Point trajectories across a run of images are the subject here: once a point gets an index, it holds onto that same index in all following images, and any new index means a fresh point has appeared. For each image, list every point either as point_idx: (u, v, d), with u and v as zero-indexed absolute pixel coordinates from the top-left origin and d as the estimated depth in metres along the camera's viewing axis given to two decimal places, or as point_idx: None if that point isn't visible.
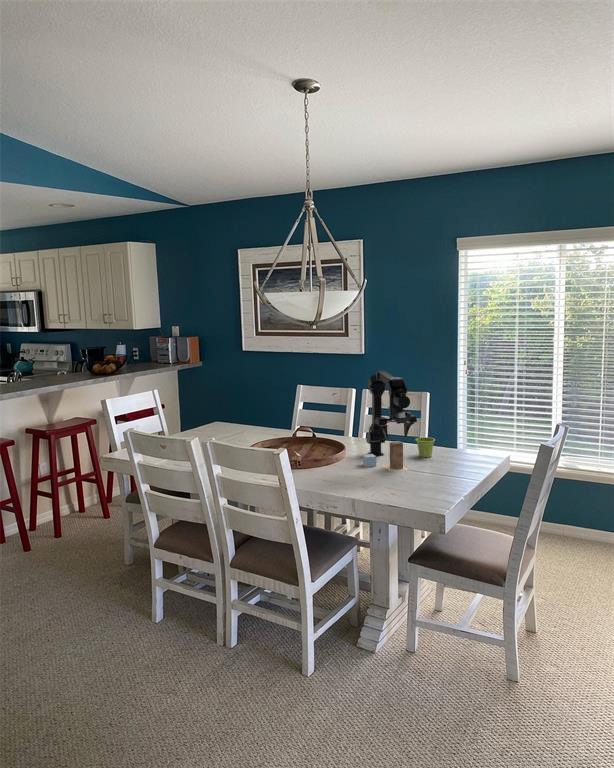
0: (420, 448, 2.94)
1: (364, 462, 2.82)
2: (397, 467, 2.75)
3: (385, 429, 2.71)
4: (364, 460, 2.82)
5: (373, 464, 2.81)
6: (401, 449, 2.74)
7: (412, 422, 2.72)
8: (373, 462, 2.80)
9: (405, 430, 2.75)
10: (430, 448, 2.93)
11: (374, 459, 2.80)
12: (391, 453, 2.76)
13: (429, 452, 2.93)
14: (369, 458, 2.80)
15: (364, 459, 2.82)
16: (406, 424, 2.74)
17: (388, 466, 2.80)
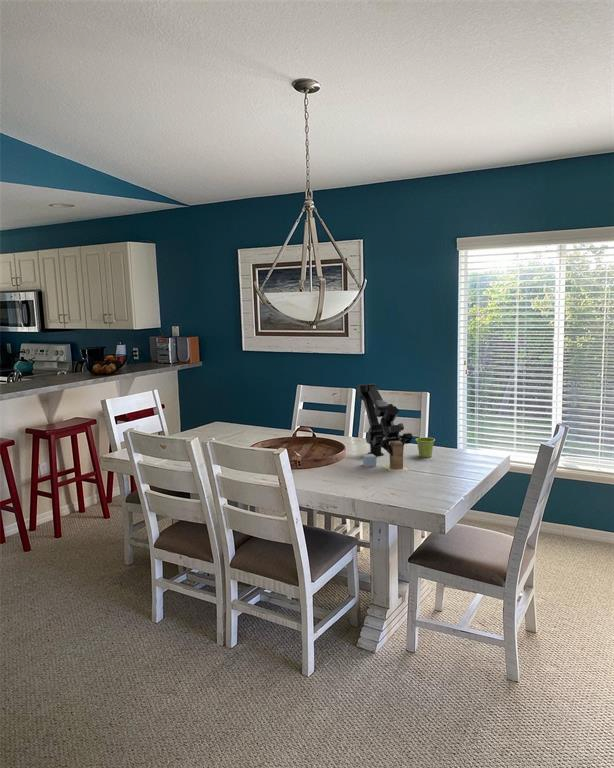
0: (420, 448, 2.94)
1: (364, 462, 2.82)
2: (397, 467, 2.75)
3: (388, 445, 2.76)
4: (364, 460, 2.82)
5: (373, 464, 2.81)
6: (401, 449, 2.74)
7: (408, 436, 2.79)
8: (373, 462, 2.80)
9: None
10: (430, 448, 2.93)
11: (374, 459, 2.80)
12: None
13: (429, 452, 2.93)
14: (369, 458, 2.80)
15: (364, 459, 2.82)
16: None
17: (388, 466, 2.80)
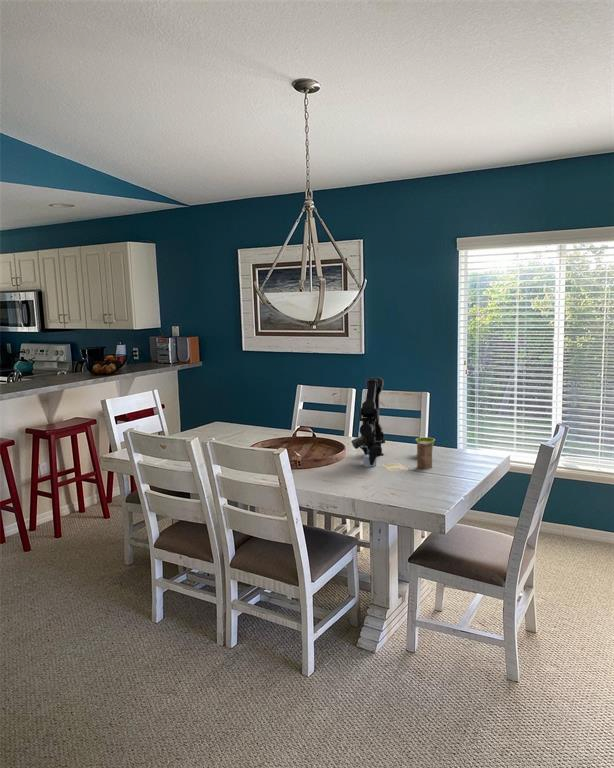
0: None
1: (364, 462, 2.82)
2: (427, 467, 2.74)
3: (364, 452, 2.85)
4: (364, 460, 2.82)
5: (373, 464, 2.81)
6: (430, 449, 2.74)
7: (368, 452, 2.74)
8: None
9: None
10: None
11: None
12: (421, 454, 2.74)
13: None
14: None
15: (364, 459, 2.82)
16: None
17: (388, 466, 2.80)
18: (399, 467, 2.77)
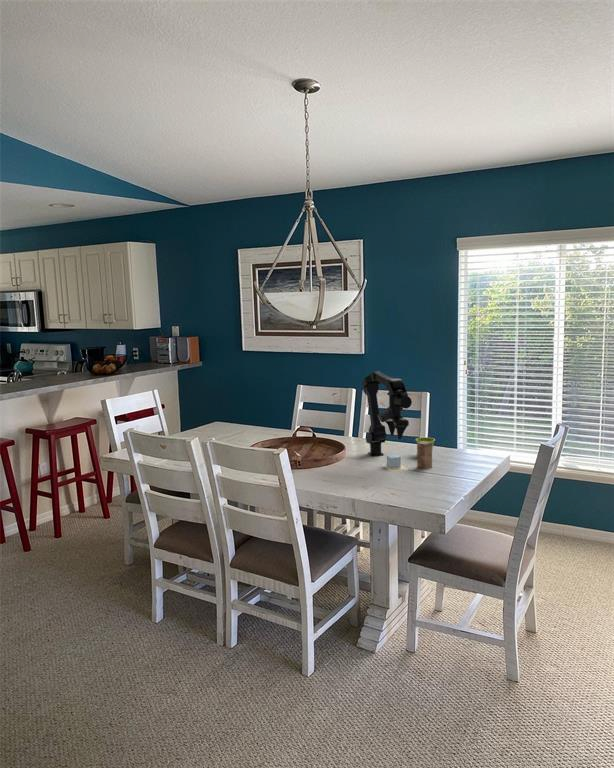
0: None
1: (388, 463, 2.79)
2: (427, 467, 2.74)
3: (388, 425, 2.88)
4: (388, 461, 2.79)
5: (397, 465, 2.77)
6: (430, 449, 2.74)
7: (394, 425, 2.75)
8: (398, 463, 2.77)
9: None
10: None
11: (399, 460, 2.77)
12: (421, 454, 2.74)
13: None
14: (393, 459, 2.76)
15: (388, 459, 2.79)
16: None
17: None
18: None
